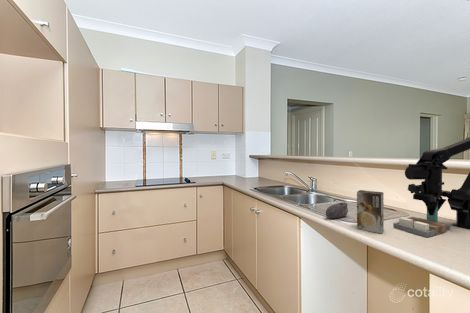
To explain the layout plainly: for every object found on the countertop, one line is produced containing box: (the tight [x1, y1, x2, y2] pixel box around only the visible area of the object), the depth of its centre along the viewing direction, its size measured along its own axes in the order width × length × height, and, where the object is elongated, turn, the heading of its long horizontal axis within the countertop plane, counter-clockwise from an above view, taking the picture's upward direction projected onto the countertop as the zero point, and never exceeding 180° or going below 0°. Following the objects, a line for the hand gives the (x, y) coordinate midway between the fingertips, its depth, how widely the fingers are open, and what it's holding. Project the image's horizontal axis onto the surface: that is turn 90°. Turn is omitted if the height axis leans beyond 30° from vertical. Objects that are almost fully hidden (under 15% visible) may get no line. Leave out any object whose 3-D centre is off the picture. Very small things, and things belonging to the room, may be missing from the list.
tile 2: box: [414, 221, 429, 232], centre depth 87 cm, size 4×4×2 cm
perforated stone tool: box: [325, 202, 349, 219], centre depth 109 cm, size 15×5×7 cm, turn 115°
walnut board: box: [407, 216, 448, 236], centre depth 93 cm, size 8×12×3 cm, turn 24°
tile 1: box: [398, 216, 413, 228], centre depth 92 cm, size 4×4×2 cm
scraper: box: [419, 205, 451, 232], centre depth 96 cm, size 3×11×10 cm, turn 24°
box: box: [392, 221, 436, 239], centre depth 90 cm, size 6×12×2 cm, turn 24°
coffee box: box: [356, 189, 385, 234], centre depth 92 cm, size 9×6×16 cm
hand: (432, 214), depth 95 cm, fingers closed on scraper, 2 cm apart
